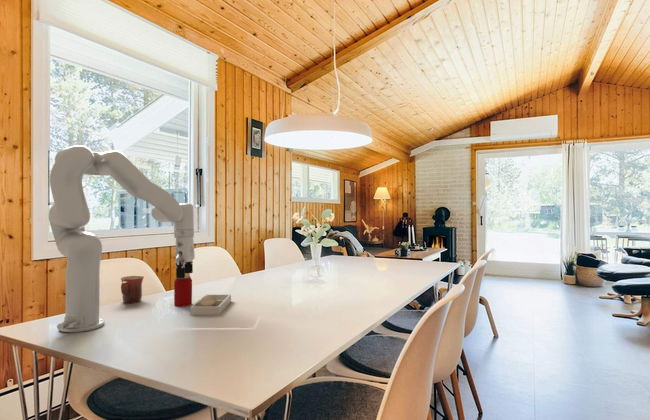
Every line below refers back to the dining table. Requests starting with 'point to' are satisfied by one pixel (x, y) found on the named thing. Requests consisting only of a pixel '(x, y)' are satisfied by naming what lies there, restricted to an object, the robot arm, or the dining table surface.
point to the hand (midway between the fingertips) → (184, 275)
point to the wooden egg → (208, 301)
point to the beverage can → (183, 291)
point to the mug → (131, 288)
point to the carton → (211, 310)
